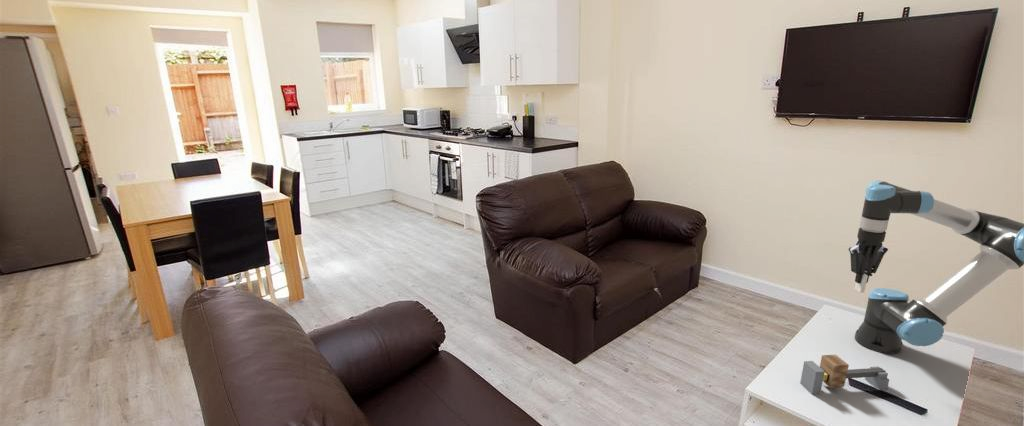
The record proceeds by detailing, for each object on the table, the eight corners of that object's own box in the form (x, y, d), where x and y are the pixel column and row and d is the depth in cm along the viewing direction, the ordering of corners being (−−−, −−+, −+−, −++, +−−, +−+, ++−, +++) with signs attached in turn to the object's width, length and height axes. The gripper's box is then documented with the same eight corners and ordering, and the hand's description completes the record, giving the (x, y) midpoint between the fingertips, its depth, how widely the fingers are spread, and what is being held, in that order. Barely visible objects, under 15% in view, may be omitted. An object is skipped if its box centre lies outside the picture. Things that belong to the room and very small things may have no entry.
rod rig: (872, 378, 164) (877, 356, 161) (886, 389, 158) (892, 367, 156) (800, 383, 162) (804, 361, 160) (811, 394, 157) (816, 371, 154)
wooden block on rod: (831, 375, 162) (835, 354, 160) (844, 386, 157) (848, 364, 154) (817, 376, 162) (821, 355, 160) (830, 387, 156) (834, 365, 154)
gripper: (881, 225, 163) (868, 285, 170) (846, 226, 162) (834, 287, 169) (899, 231, 156) (885, 294, 163) (863, 233, 155) (850, 296, 162)
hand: (859, 290), depth 166 cm, fingers closed
